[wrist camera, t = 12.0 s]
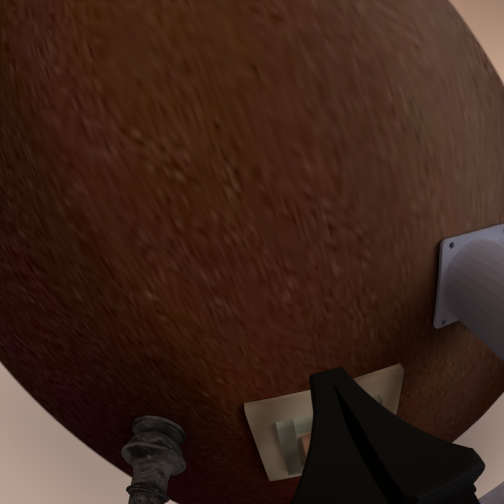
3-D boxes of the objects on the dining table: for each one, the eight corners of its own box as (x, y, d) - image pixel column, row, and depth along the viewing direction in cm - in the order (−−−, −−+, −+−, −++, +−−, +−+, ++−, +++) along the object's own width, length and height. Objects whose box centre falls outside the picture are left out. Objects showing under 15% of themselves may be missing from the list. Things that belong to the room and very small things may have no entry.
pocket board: (399, 363, 24) (408, 375, 22) (384, 444, 28) (389, 455, 27) (243, 403, 23) (245, 418, 22) (268, 474, 28) (270, 486, 26)
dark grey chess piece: (174, 454, 26) (165, 552, 15) (121, 433, 24) (97, 532, 13) (198, 429, 24) (193, 543, 13) (139, 404, 23) (112, 521, 12)
